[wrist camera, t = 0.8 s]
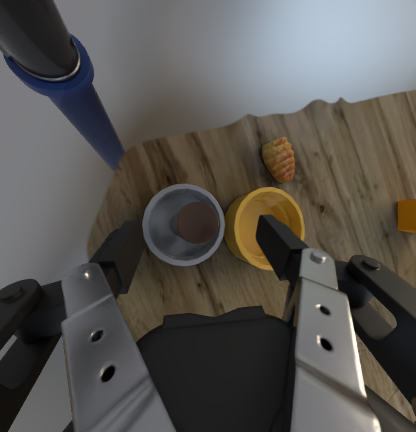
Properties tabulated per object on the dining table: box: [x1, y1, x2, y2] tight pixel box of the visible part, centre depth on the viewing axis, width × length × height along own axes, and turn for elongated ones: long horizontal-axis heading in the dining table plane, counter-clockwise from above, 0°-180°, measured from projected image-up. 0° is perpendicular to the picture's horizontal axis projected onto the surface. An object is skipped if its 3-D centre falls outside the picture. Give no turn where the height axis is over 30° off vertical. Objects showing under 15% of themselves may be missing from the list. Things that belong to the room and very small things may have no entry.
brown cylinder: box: [171, 201, 219, 244], centre depth 22 cm, size 4×4×13 cm
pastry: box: [262, 137, 295, 183], centre depth 34 cm, size 9×7×4 cm
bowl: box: [224, 187, 305, 270], centre depth 31 cm, size 15×15×6 cm
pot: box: [142, 184, 225, 266], centre depth 27 cm, size 13×13×5 cm
